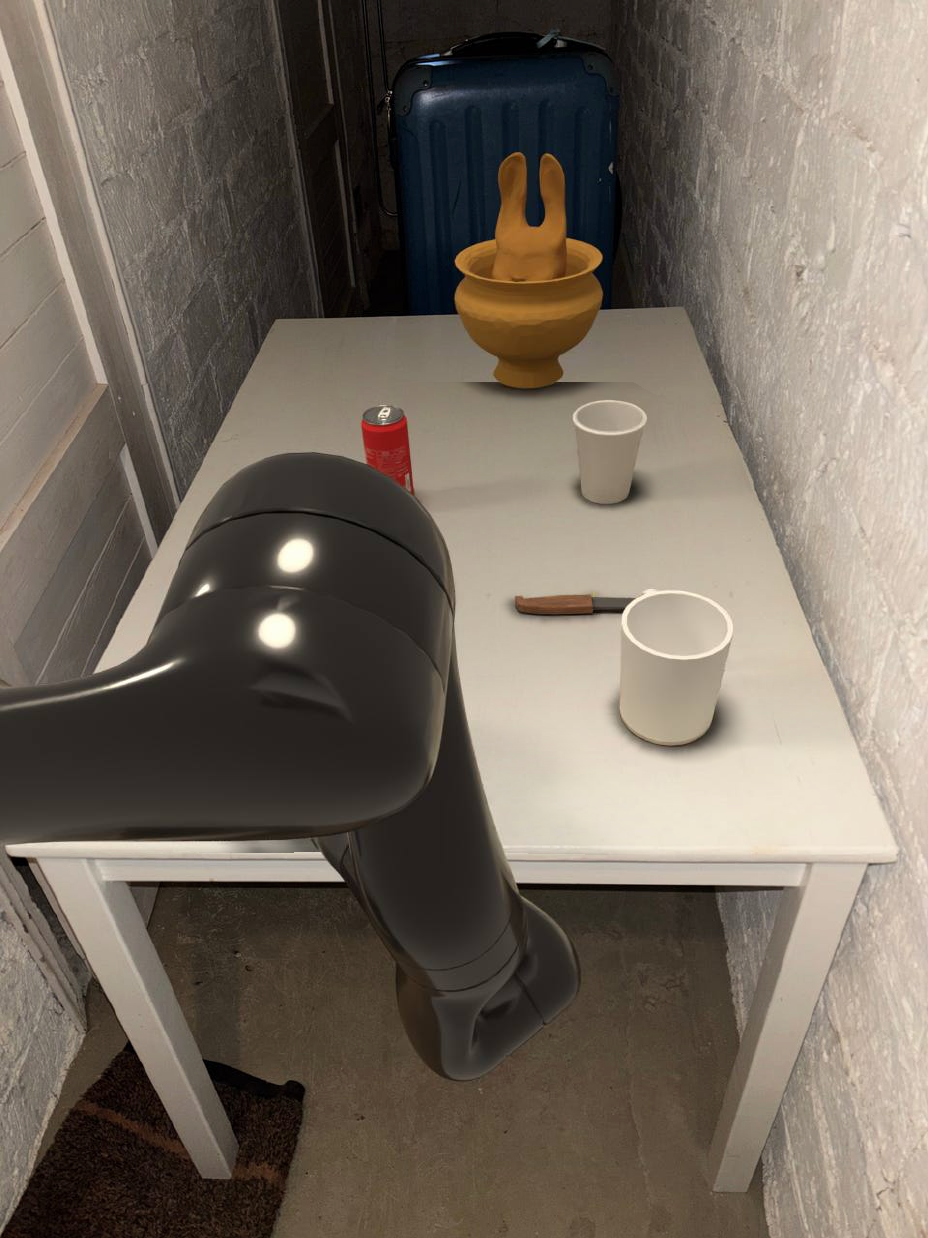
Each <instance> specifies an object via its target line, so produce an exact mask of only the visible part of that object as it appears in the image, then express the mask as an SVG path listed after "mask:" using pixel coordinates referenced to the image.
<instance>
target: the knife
mask: <svg viewBox="0 0 928 1238" xmlns="http://www.w3.org/2000/svg"><path fill="white" fill-rule="evenodd" d="M636 598H637V597H610V596H609V597H608V596H607V597H605V596H595V590H591V594H590V593H589V594H588V593H587V594H559V595H548V596H537V597H535V596H534V597H523V596H522V595H515V596H514V604H515V606H516V609H517V610H518V611H519V612H522V613H528V614H536V615H537V614H538V615H566V614H567V615H571V614H575V615H576V614H593V611H594V610H625V608H626V607H627V606H628V605H629V604H630V603H631V602H632V601H633V600H635V599H636Z"/></svg>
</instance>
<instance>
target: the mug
mask: <svg viewBox="0 0 928 1238" xmlns="http://www.w3.org/2000/svg"><path fill="white" fill-rule="evenodd" d="M635 598H636V599H635V600H633V601H632V602H631V603H630V604H629V605H628V606H627V607H626V608H625V609H623V612H622V614H621V622H620V623H621V624H620V667H619V668H620V671H619V672H620V674H619V676H620V677H619V714H620V717H621V720H622V721H623V723H624V724H625V726H626V727H627V729H628V730H629V731H630V732H632V733H633V735H635V736H637V737H639V739H640V738H641V739H642V740H644V741H646V742H649V743H653V744H656V745H658V746H659V745H660V746H669V747H671V746H682V745H686V744H690V743H692V742H694V741H696V740H698V739H699V738H701V737H702V736H704V735H705V733H706V732H707V731H708V730H709V729H710V728H711V725H712V721H713V719H714V714H715V710H716V706H717V701H718V698H719V693H720V689H721V686H722V681H723V676H724V673H725V668H726V664H727V661H728V656H729V652H730V648H731V644H732V641H733V636H734V624H733V621H732V619H731V616H730V614H729V613H728V612H727V611H726V610H725V609H724V608H723V607H722V606H721V605H720V604H719V603H717V602H715V601H714V600H712V599H711V598H708V597H706V596H704V595H701V594H698V593H695V592H690V591H685V590H675V589H667V590H666V589H665V590H657V589H656V588H648V589H645V590H643V592H642V594H641V596H639V597H635Z"/></svg>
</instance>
